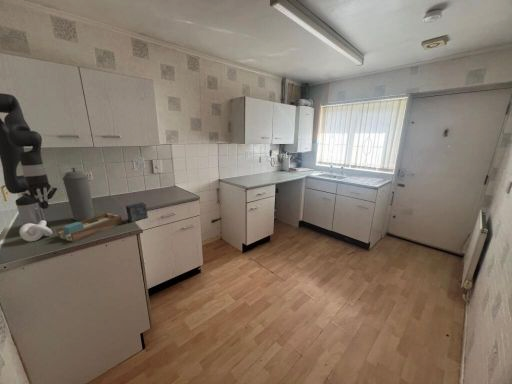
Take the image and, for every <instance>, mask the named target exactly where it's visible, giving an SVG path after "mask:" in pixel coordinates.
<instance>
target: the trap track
mask: <svg viewBox="0 0 512 384" xmlns="http://www.w3.org/2000/svg"><path fill="white" fill-rule="evenodd" d="M79 222H80V223H83V227H84V229H81V230H78V231H75V232H73V233H71V234H70V235H69V234H65V233H64V230H63V227H59V228H56V229H55V230H56V234H57V238H59V239H62V240H65V241H69V242H72V243H75V242H78V241H80V240H83V239H85V238H88V237H91V236H94V235H96V234H98V233H102V232H103V231H106V230H109V229H112V228H114V227H117V226H119V225H121V224H123V219H122V215H118V214H113V213H109V212H108V213H107V212H104V213H102V214H99V215H96V216H95V215H94V217H92V218H89V219H86V220H83V221H79Z"/></svg>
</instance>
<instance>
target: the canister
mask: <svg viewBox="0 0 512 384" xmlns="http://www.w3.org/2000/svg"><path fill="white" fill-rule="evenodd" d="M70 169H71V170H72V171H68V172H66V173H65V175H64V176H63V177H62V180H63V184H64V187H65V191H66V195H67V199H68V203H69V206H70V209H71V213H72V216H73V220H74V221H75V222H80V221H83V220H86V219H89V218H92V217H95V212H94V205H93V200H92V199H93V198H92V193H91V189H90V188H91V187H90V182H89V176H88V175H87V174H86V173H84V172H83V171H80V170H79V171H78V170H76V169H77V167H71V168H70Z"/></svg>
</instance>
